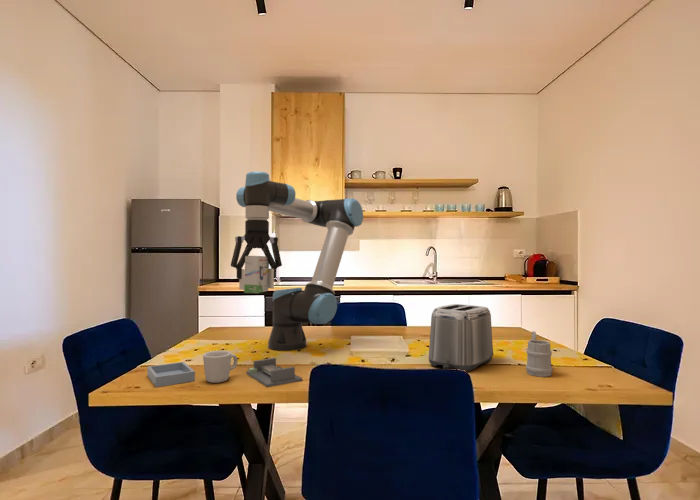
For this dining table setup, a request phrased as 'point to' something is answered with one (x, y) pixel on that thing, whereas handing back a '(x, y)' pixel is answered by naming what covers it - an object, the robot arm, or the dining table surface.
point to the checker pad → (269, 368)
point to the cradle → (272, 373)
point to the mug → (539, 357)
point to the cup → (218, 365)
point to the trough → (170, 374)
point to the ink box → (256, 274)
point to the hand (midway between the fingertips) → (256, 288)
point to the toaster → (460, 336)
